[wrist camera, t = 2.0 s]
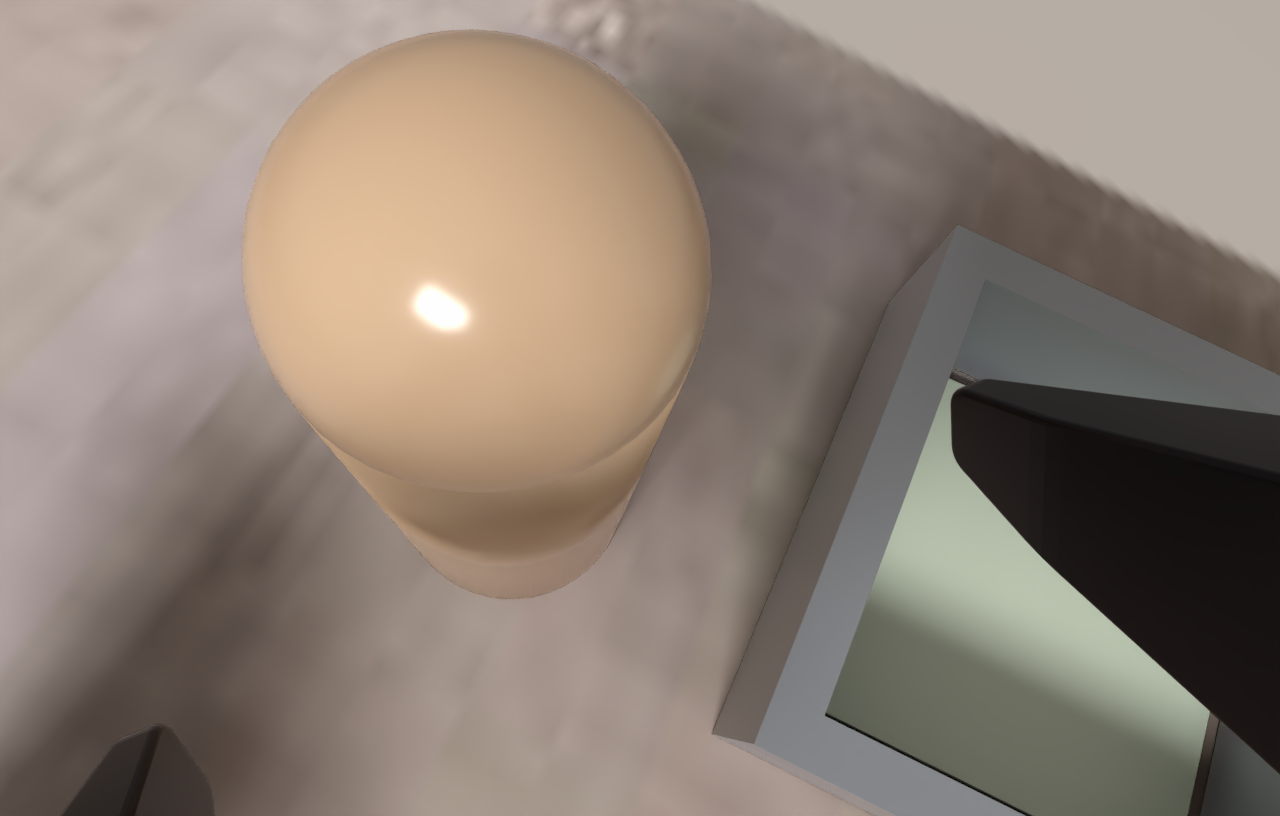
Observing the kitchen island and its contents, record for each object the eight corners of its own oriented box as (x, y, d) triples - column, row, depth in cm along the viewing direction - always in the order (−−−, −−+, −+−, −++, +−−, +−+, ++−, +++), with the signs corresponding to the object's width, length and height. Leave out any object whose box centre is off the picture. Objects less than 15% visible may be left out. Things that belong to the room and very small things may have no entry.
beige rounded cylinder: (563, 638, 19) (606, 532, 7) (359, 536, 20) (15, 240, 7) (659, 441, 21) (842, 52, 8) (471, 350, 21) (365, -168, 8)
